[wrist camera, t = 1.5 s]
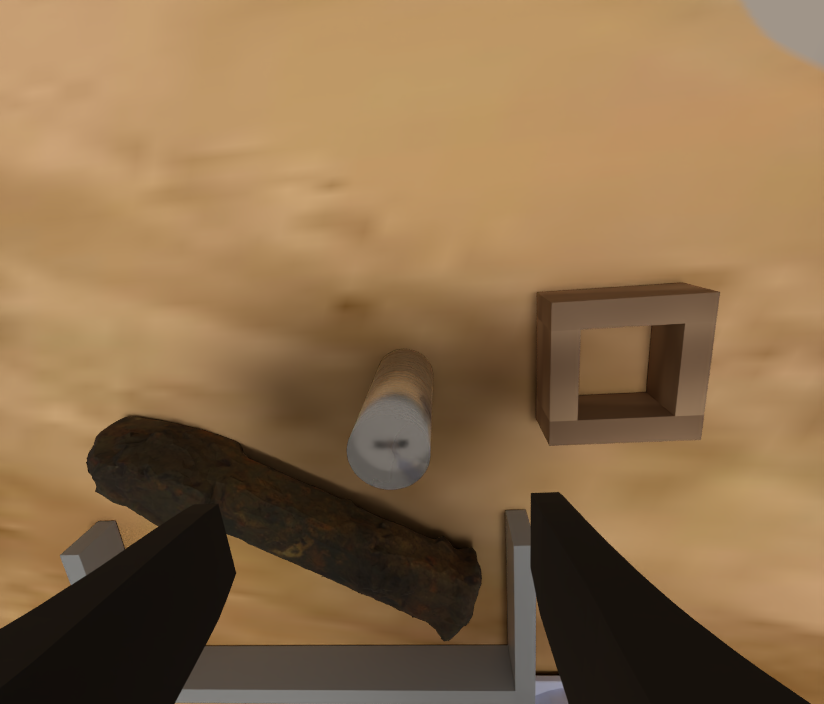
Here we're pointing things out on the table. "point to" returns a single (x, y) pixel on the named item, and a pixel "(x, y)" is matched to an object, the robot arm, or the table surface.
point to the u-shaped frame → (361, 651)
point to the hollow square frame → (667, 373)
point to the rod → (394, 423)
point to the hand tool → (284, 518)
